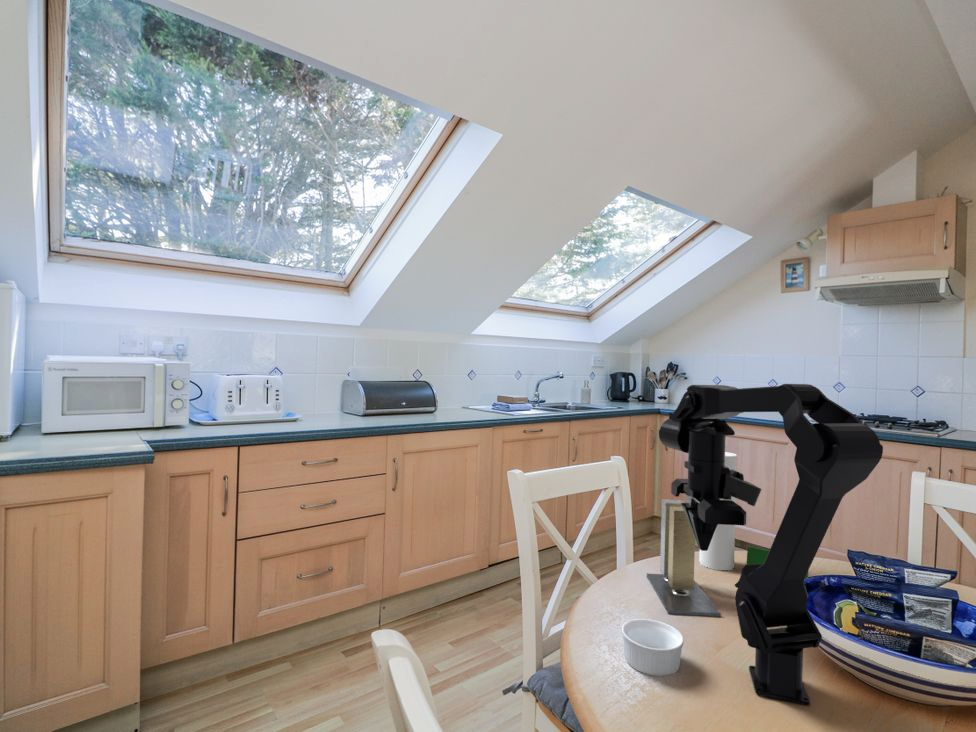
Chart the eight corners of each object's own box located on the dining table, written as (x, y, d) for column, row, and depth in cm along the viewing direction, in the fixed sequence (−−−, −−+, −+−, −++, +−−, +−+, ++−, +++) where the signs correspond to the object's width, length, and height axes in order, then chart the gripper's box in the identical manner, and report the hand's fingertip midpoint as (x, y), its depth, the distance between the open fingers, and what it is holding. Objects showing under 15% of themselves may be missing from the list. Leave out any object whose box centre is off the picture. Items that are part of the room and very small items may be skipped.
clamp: (797, 600, 109) (819, 563, 109) (794, 603, 104) (817, 565, 104) (742, 564, 117) (762, 529, 116) (736, 565, 112) (758, 529, 111)
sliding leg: (693, 593, 99) (695, 511, 99) (672, 592, 99) (674, 510, 99) (688, 587, 102) (690, 507, 102) (667, 586, 102) (669, 506, 102)
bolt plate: (720, 616, 92) (722, 523, 92) (668, 613, 92) (670, 521, 92) (690, 578, 108) (692, 499, 108) (646, 576, 109) (648, 497, 109)
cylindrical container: (702, 568, 114) (705, 455, 114) (697, 556, 121) (699, 450, 121) (737, 572, 112) (740, 457, 112) (730, 560, 119) (732, 451, 119)
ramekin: (684, 653, 80) (684, 625, 80) (682, 686, 72) (682, 655, 72) (625, 640, 83) (625, 613, 83) (616, 670, 75) (617, 640, 75)
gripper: (783, 472, 78) (779, 575, 78) (732, 450, 97) (729, 533, 97) (707, 469, 79) (704, 571, 79) (671, 448, 97) (669, 530, 98)
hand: (703, 549), depth 88 cm, fingers closed
